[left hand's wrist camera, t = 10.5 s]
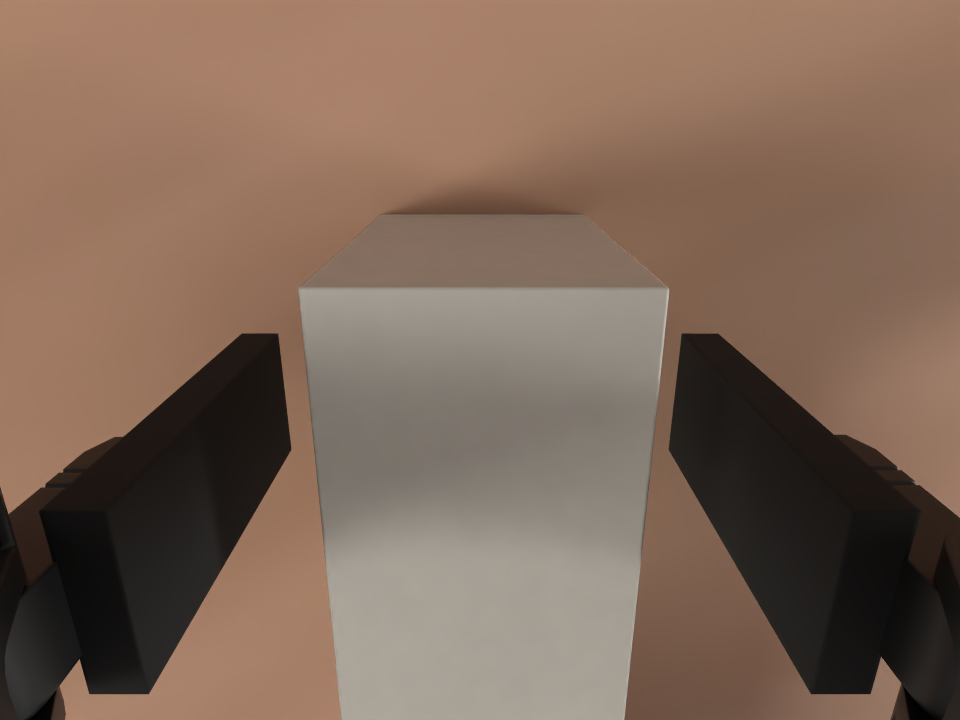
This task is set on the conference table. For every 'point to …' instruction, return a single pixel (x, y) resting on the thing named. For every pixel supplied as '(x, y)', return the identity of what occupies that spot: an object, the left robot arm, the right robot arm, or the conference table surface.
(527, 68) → the conference table surface
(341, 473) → the bar
